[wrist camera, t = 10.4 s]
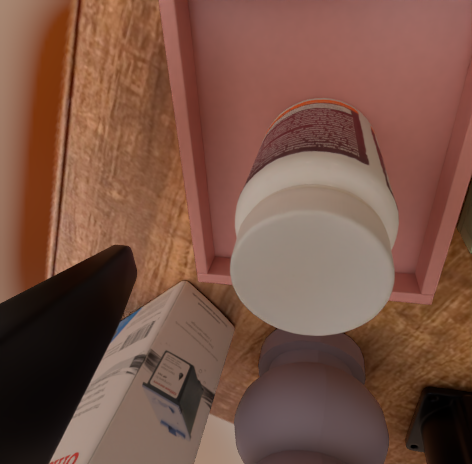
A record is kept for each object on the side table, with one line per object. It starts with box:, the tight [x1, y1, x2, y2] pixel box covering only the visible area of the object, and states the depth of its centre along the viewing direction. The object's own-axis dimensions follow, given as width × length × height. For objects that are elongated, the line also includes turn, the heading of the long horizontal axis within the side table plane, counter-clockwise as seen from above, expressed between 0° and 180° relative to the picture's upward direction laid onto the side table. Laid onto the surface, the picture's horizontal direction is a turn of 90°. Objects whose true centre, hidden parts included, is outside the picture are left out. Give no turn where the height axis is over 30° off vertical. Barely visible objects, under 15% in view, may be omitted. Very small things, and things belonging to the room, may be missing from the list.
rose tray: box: [158, 0, 472, 305], centre depth 16 cm, size 13×11×2 cm
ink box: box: [49, 281, 235, 464], centre depth 20 cm, size 9×5×12 cm, turn 133°
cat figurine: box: [234, 329, 389, 464], centre depth 19 cm, size 8×8×12 cm
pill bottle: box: [230, 98, 399, 336], centre depth 13 cm, size 5×5×8 cm
